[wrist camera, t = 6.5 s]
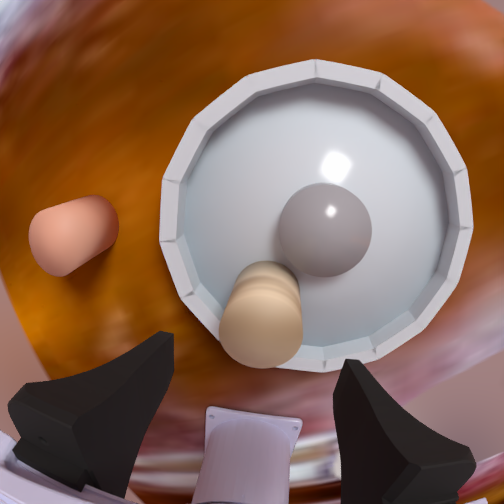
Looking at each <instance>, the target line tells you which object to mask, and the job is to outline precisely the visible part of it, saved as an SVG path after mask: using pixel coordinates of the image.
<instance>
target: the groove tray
mask: <svg viewBox="0 0 504 504" xmlns="http://www.w3.org/2000/svg"><path fill="white" fill-rule="evenodd" d="M248 78H249V79H248ZM193 119H194V120H193ZM193 119H192V121H191V123H190V124H189V126H188V128H187V130H186V132H185V134H184V136H183V138H182V140H181V142H180V144H179V146H178V147H177V149H176V151H175V153H174V155H173V157H172V159H171V162H170V164H169V166H168V168H167V170H166V172H165V174H164V176H163V178H164V179H162V192H161V209H160V233H159V241H161V242H159V243H160V246H161V248H162V251H163V254H164V257H165V260H166V262H167V265H168V268H169V271H170V273H171V276H172V279H173V281H174V284H175V287H176V289H177V292H178V294H179V297H180V298H181V300H182V301H183V302H184V303H185V305H186V306H187V307H188V308H189V309H190V310H191V311H192V312H193V314H194V315H195V316H196V317H197V318H198V319H199V320H200V321H201V322H202V324H203V325H204V326H205V327H206V328H207V329H208V330H209V331H210V332H211V333H212V334H213V335H214V336H215V338H216V339H217V340H218V341H219V340H220V339H219V324H220V321H221V318H222V316H223V313H224V310H225V308H226V305H227V302H228V300H229V297H230V295H231V292H232V289H233V287H234V284H235V282H236V279H237V277H238V275H239V274H240V272H241V271H242V270H243V269H244V268H246V267H247V266H248V265H250V264H252V263H255V262H258V261H274V262H278V263H281V264H283V265H284V266H286V267H287V268H289V269H290V270H291V271H292V272H293V273H294V275H295V276H296V278H297V280H298V283H299V287H300V298H301V311H302V325H303V340H302V344H301V347H300V348H299V350H298V352H297V353H296V354H295V356H294V357H293V358H291V359H290V360H289V361H287V362H286V363H284V364H282V365H279V366H276V367H277V368H285V369H294V370H303V371H312V372H329V371H334V370H338V369H342V367H343V364H344V361H345V359H357V360H360V361H361V362H362V364H364V363H368V362H371V361H375V360H377V359H380V358H381V357H383V356H385V355H386V354H388V353H389V352H391V351H393V350H394V349H396V348H397V347H399V346H400V345H402V344H403V343H405V342H406V341H408V340H409V339H411V338H412V337H414V336H415V335H417V334H418V333H420V332H421V331H423V328H424V329H425V328H426V326H427V325H428V324H429V323H430V321H431V320H432V319H433V317H434V316H435V315H436V314H437V312H438V311H439V310H440V308H441V307H442V306H443V304H444V303H445V301H446V300H447V299H448V297H449V296H450V294H451V293H452V292H453V290H454V289H455V287H456V286H457V284H456V283H458V282H459V279H460V275H461V272H462V269H463V265H464V262H465V259H466V255H467V251H468V248H469V244H470V240H471V236H472V232H473V216H472V205H471V196H470V188H469V180H468V173H467V168H466V165H465V164H464V162H463V160H462V158H461V156H460V154H459V152H458V150H457V148H456V147H455V145H454V143H453V141H452V139H451V138H450V136H449V134H448V132H447V131H446V129H445V127H444V126H443V124H442V122H441V121H440V119H439V117H438V116H437V114H436V113H435V112H434V111H433V110H432V109H431V108H429V107H428V106H427V105H426V104H424V103H423V102H422V101H420V100H419V99H418V98H416V97H415V96H414V95H412V94H411V93H410V92H408V91H407V90H406V89H404V88H403V87H402V86H400V85H399V84H397V83H396V82H395V81H393V80H392V79H390V78H389V77H387V76H386V75H384V74H382V75H381V73H380V72H376V71H372V70H368V69H363V68H359V67H354V66H350V65H345V64H340V63H335V62H329V61H323V60H317V59H316V60H314V59H313V60H308V61H303V62H298V63H294V64H289V65H285V66H281V67H277V68H273V69H269V70H265V71H261V72H257V73H254V74H250V75H248V77H247V76H245V77H244V78H243V79H241V80H240V81H239V82H237V83H236V84H235V85H233V86H232V87H231V88H230V89H228V90H227V91H226V92H224V93H223V94H222V95H221V96H219V97H218V98H217V99H216V100H214V101H213V102H212V103H211V104H210V105H208V106H207V107H206V108H205V109H203V110H202V111H201V112H200V113H199V114H197V115H196V116H195V117H194V118H193ZM219 342H220V341H219Z"/></svg>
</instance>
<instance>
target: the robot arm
mask: <svg viewBox="0 0 504 504" xmlns="http://www.w3.org/2000/svg"><path fill="white" fill-rule="evenodd" d="M173 372H174V334H173V333H168V332H163V331H159V332H157V333H156V334H154V335H153V336H151V337H150V338H148V339H147V340H145V341H144V342H142V343H141V344H139V345H138V346H136V347H135V348H133V349H131V350H130V351H128V352H127V353H125V354H123V355H121V356H119V357H118V358H116V359H114V360H112V361H110V362H108V363H106V364H104V365H102V366H99V367H97V368H95V369H92V370H89V371H86V372H83V373H80V374H77V375H74V376H70V377H66V378H62V379H56V380H51V381H43V382H33V383H26V384H25V385H24V386H23V387H22V388H21V389H20V390H19V391H18V392H17V393H16V394H15V395H14V397H13V398H12V399H11V400H10V401H9V403H8V412H9V414H10V417H11V419H12V421H13V423H14V425H15V427H16V429H17V431H18V432H19V434H20V436H21V439H20V440H19V441H18V443H17V442H16V441H15V440H14V439H13V438H12V437H11V436H9V435H8V434H6V433H5V432H3V431H1V430H0V504H138V503H134V502H131V501H128V500H125V499H124V498H125V494H126V490H127V486H128V483H129V479H130V476H131V473H132V469H133V466H134V463H135V460H136V457H137V454H138V451H139V448H140V446H141V443H142V440H143V437H144V435H145V432H146V430H147V428H148V426H149V424H150V422H151V420H152V418H153V416H154V415H155V413H156V411H157V409H158V407H159V405H160V403H161V401H162V399H163V397H164V395H165V393H166V391H167V389H168V387H169V384H170V381H171V378H172V375H173ZM333 413H334V420H335V426H336V432H337V438H338V444H339V451H340V458H341V504H456V503H455V501H457V500H458V499H459V496H458V493H457V491H458V490H459V489H460V488H461V487H462V486H463V485H464V484H465V483H466V482H467V481H468V479H469V478H470V477H471V476H472V475H473V473H474V471H475V469H476V462H475V459H474V457H473V455H472V453H471V450H470V449H469V447H467V446H465V445H462V444H460V443H457V442H455V441H452V440H450V439H448V438H446V437H444V436H442V435H440V434H439V433H437V432H435V431H433V430H432V429H430V428H428V427H427V426H426V425H424V424H423V423H421V422H419V421H418V420H417V419H415V418H414V417H413V416H412V415H411V414H409V413H408V412H407V411H405V410H404V409H403V408H402V407H401V406H400V405H399V404H398V403H397V402H396V401H395V400H394V399H393V398H392V397H391V396H390V395H389V394H388V393H387V392H386V391H385V390H384V389H383V387H382V386H381V385H380V384H379V383H378V382H377V381H376V379H375V378H374V377H373V376H372V375H371V373H370V372H369V371H368V370H367V368H366V367H365V366H364V365H363V364H362V362H361V361H360V360H357V359H345V361H344V364H343V367H342V370H341V373H340V376H339V379H338V381H337V384H336V387H335V390H334V393H333ZM212 415H213V416H212ZM301 428H302V420H301V419H299V418H290V417H281V416H272V415H264V414H257V413H250V412H243V411H237V410H231V409H225V408H219V407H214V406H210V407H208V408H207V410H206V427H205V455H204V459H203V463H202V466H201V470H200V474H199V478H198V481H197V485H196V489H195V492H194V496H193V500H192V503H191V504H288V502H289V474H290V458H291V455H292V452H293V450H294V447H295V444H296V442H297V439H298V436H299V433H300V430H301ZM465 504H488V503H487V501H486V498H482V499H478V500H475V501H472V502H468V503H465Z"/></svg>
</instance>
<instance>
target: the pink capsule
mask: <svg viewBox="0 0 504 504" xmlns="http://www.w3.org/2000/svg"><path fill="white" fill-rule="evenodd" d="M118 231H119V221H118V217H117V214H116V211H115V209H114V208H113V206H112V205H111V204H110V202H108V201H107V200H106V199H105V198H103V197H101V196H98V195H89V196H85V197H82V198H79V199H76V200H73V201H69V202H66V203H63V204H60V205H57V206H54V207H51V208H48V209H45V210H42V211H40V212H39V213H37V214H36V215H35V217H34V218H33V220H32V222H31V225H30V229H29V243H30V248H31V251H32V253H33V256H34V258H35V260H36V261H37V263H38V264H39V265H40V267H41V268H42V269H43V270H45V271H46V272H47V273H49V274H51V275H54V276H65V275H67V274H69V273H70V272H72V271H73V270H75V269H76V268H78V267H79V266H81V265H82V264H84V263H85V262H87V261H89V260H90V259H92V258H93V257H95V256H96V255H98V254H100V253H101V252H103V251H104V250H106V249H108V248H109V247H110V246H112V244H113V243H114V242H115V240H116V238H117V235H118Z"/></svg>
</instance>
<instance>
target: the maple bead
mask: <svg viewBox="0 0 504 504" xmlns="http://www.w3.org/2000/svg"><path fill="white" fill-rule="evenodd" d="M219 339H220V342H221V344H222V346H223V348H224V350H225V351H226V352H227V353H228V355H229V356H231V357H232V358H233V359H234V360H236V361H237V362H239V363H241V364H243V365H246V366H249V367H253V368H272V367H276V366H279V365H282V364H284V363H286V362H287V361H289V360H290V359H291V358H293V357H294V356H295V354H296V353H297V352H298V350H299V348H300V347H301V344H302V340H303V325H302V311H301V298H300V287H299V283H298V280H297V278H296V276H295V275H294V273H293V272H292V271H291V270H290V269H289V268H287V267H286V266H284V265H283V264H281V263H278V262H274V261H258V262H255V263H252V264H250V265H248V266H247V267H246V268H244V269H243V270H242V271H241V272H240V274H239V275H238V277H237V279H236V282H235V284H234V287H233V289H232V292H231V295H230V297H229V300H228V302H227V305H226V308H225V310H224V313H223V316H222V318H221V321H220V324H219Z"/></svg>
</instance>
